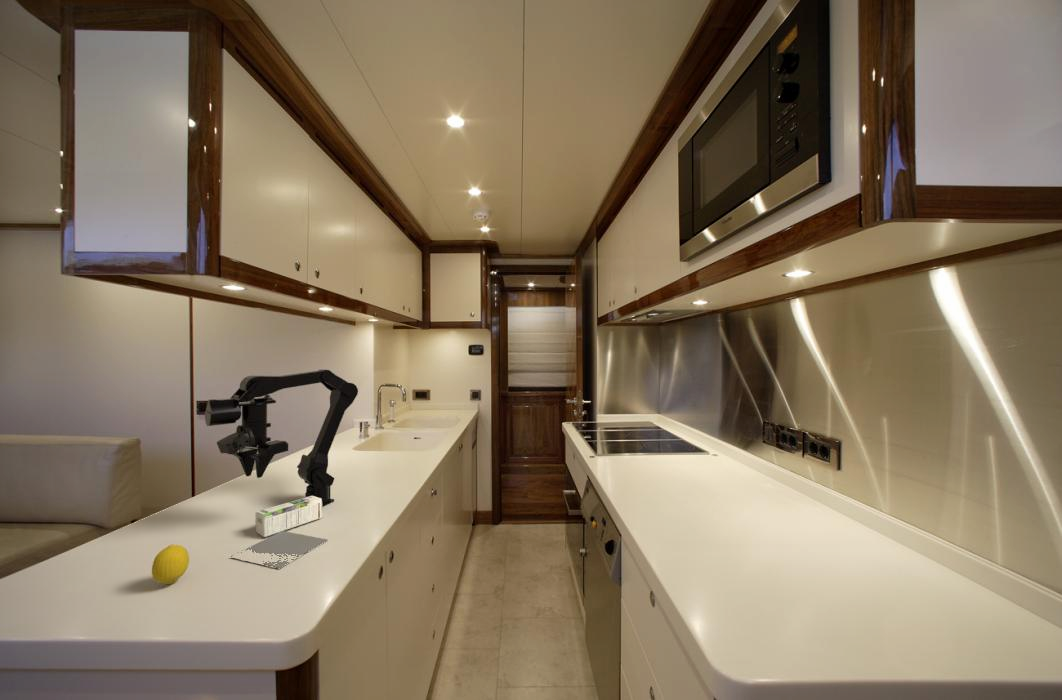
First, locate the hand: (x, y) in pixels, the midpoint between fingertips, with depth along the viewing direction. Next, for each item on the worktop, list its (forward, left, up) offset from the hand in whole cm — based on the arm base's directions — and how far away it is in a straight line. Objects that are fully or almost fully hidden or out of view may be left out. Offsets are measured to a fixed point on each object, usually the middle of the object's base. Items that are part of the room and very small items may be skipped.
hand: (253, 476), depth 104 cm
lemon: (+25, +11, -13) cm, 30 cm away
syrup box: (+5, +9, -10) cm, 14 cm away
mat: (+8, +20, -13) cm, 25 cm away
